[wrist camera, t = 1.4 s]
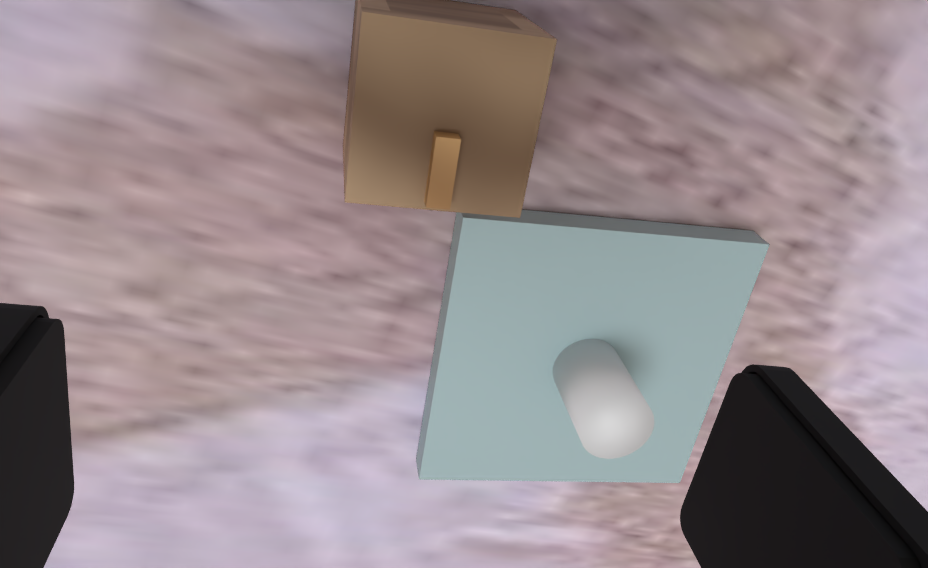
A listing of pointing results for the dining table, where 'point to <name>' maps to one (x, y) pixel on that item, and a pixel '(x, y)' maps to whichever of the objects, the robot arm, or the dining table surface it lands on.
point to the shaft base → (559, 305)
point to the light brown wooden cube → (443, 105)
